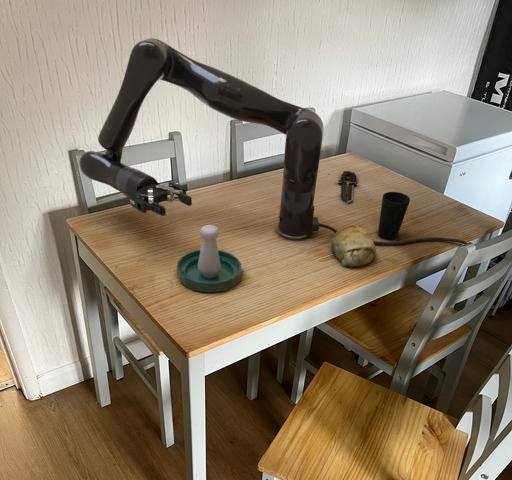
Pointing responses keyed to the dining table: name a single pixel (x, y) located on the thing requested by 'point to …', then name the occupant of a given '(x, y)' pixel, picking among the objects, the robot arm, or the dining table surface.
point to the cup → (392, 214)
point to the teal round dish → (196, 281)
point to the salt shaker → (209, 252)
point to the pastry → (353, 246)
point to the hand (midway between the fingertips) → (177, 206)
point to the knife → (350, 185)
